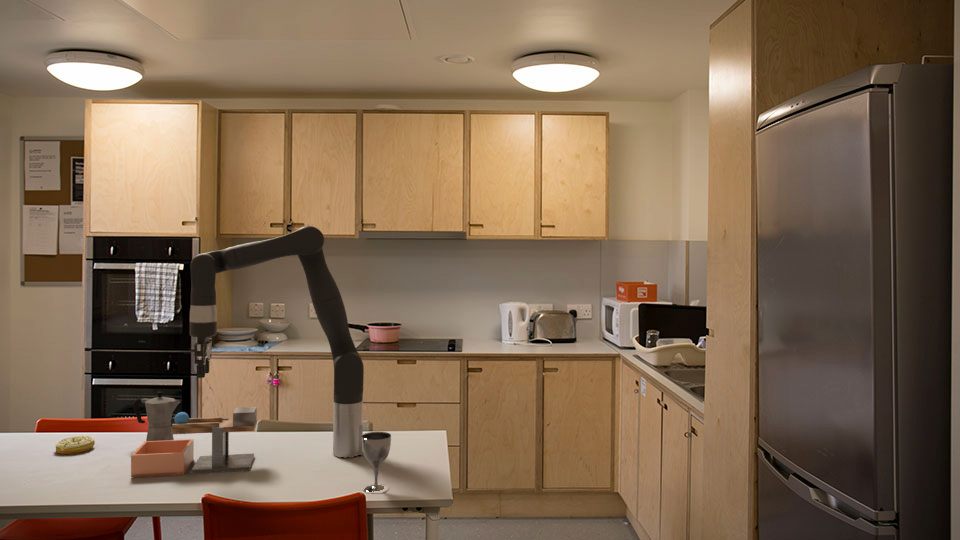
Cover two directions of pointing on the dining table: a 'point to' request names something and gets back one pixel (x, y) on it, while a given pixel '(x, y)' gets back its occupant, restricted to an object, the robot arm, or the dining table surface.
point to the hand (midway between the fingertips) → (203, 375)
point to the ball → (181, 418)
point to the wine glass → (376, 453)
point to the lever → (220, 423)
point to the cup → (162, 458)
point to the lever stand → (222, 456)
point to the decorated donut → (75, 444)
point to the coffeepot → (157, 416)
